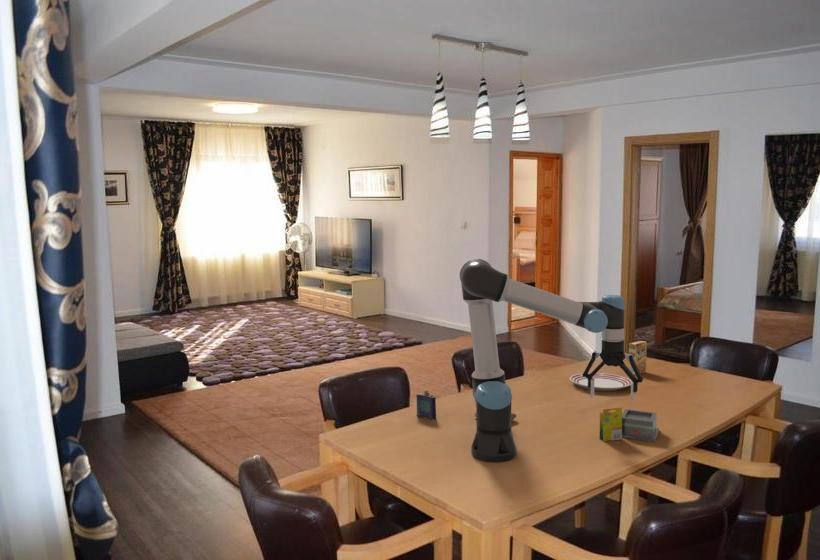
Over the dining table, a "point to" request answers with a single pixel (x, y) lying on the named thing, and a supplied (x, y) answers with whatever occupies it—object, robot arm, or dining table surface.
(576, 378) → the dinner plate
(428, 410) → the flask
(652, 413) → the stand
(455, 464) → the dining table surface
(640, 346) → the candy box
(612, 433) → the crayon box
